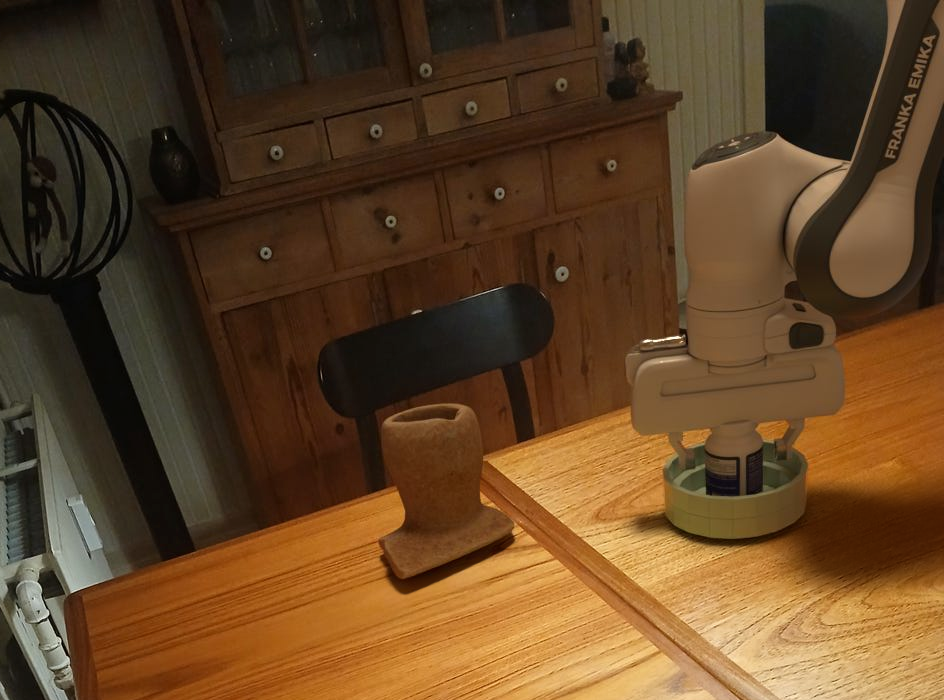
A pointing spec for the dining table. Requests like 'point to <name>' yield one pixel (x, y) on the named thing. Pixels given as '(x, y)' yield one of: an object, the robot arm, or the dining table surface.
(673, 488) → the bowl
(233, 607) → the dining table surface
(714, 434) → the pill bottle
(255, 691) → the dining table surface
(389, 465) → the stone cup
